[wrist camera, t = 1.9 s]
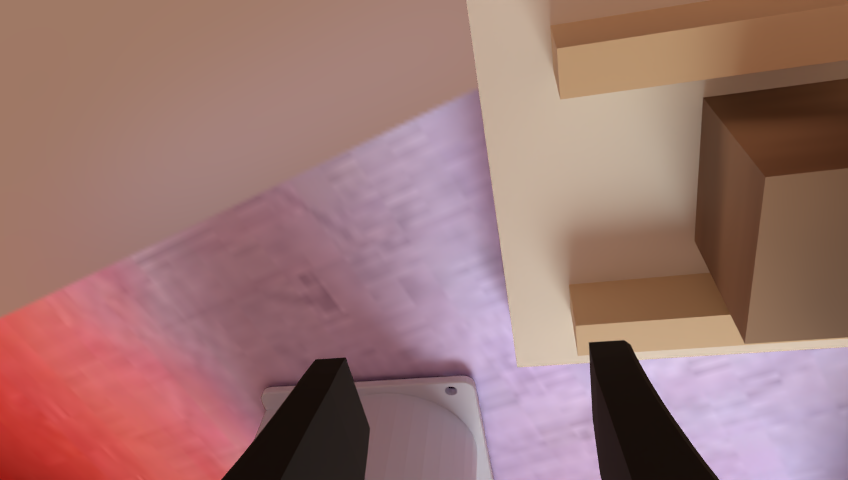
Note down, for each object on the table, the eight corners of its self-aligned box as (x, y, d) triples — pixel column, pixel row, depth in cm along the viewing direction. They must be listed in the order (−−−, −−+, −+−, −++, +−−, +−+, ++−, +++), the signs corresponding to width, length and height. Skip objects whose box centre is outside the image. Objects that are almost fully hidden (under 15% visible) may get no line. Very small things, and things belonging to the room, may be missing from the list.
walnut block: (694, 240, 18) (744, 343, 15) (702, 97, 16) (765, 177, 12) (860, 225, 18) (959, 330, 14) (895, 72, 15) (1025, 148, 12)
